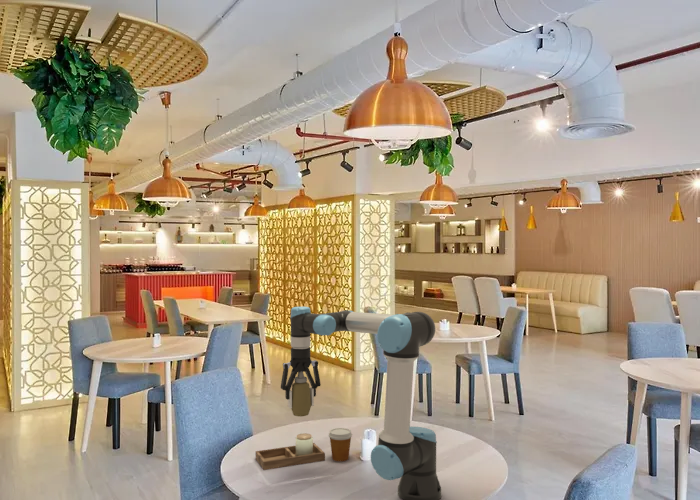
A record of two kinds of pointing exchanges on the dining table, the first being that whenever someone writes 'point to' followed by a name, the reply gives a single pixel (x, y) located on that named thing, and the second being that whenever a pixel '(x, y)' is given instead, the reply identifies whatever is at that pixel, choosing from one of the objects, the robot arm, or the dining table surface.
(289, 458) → the caddy
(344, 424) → the dining table surface
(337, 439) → the disposable coffee cup
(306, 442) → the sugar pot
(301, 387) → the squeeze bottle
